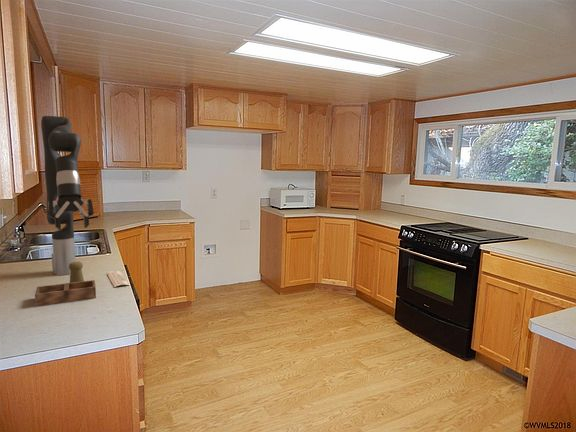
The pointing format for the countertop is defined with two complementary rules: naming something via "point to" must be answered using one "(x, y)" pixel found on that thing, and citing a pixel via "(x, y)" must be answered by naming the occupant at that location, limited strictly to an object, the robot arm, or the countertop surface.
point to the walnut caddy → (65, 292)
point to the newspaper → (117, 278)
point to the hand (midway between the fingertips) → (72, 228)
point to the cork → (76, 272)
